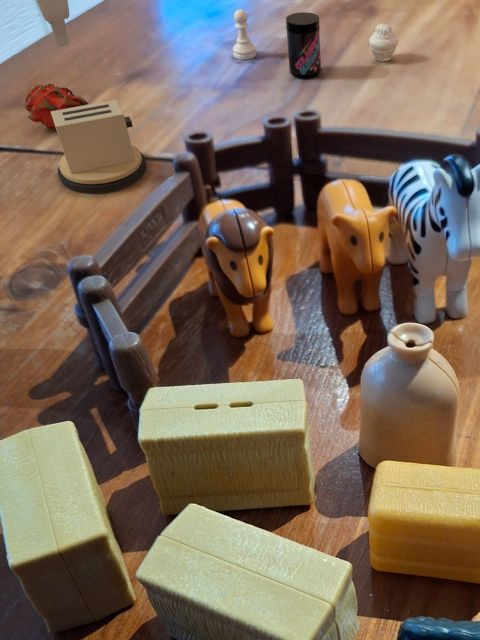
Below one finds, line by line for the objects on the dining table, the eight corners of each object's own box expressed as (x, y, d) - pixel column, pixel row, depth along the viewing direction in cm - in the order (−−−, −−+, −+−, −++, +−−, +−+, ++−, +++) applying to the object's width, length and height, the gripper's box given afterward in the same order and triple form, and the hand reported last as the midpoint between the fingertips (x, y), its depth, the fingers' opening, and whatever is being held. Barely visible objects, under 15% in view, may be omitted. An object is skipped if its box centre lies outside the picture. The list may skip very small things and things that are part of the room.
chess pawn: (239, 49, 161) (234, 4, 154) (260, 52, 160) (255, 7, 153) (229, 58, 158) (223, 12, 151) (250, 61, 157) (245, 15, 150)
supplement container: (288, 80, 151) (284, 25, 143) (290, 66, 155) (286, 12, 147) (321, 79, 151) (319, 24, 143) (321, 66, 155) (319, 11, 147)
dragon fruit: (31, 134, 140) (95, 141, 142) (16, 124, 132) (84, 132, 133) (30, 86, 138) (95, 94, 140) (15, 73, 130) (84, 82, 131)
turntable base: (66, 201, 121) (64, 194, 121) (54, 160, 130) (51, 153, 129) (155, 182, 125) (153, 176, 124) (136, 144, 134) (135, 137, 133)
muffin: (395, 65, 155) (397, 29, 150) (367, 64, 156) (367, 28, 150) (397, 53, 159) (399, 18, 154) (370, 52, 160) (370, 17, 154)
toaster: (66, 191, 121) (49, 138, 114) (54, 153, 129) (37, 102, 122) (149, 174, 124) (137, 122, 117) (132, 138, 132) (120, 87, 126)
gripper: (-4, -91, 107) (29, 13, 118) (11, -52, 95) (46, 61, 106) (40, -96, 109) (68, 8, 119) (60, -58, 96) (90, 53, 107)
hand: (58, 33), depth 112 cm, fingers open, 8 cm apart
